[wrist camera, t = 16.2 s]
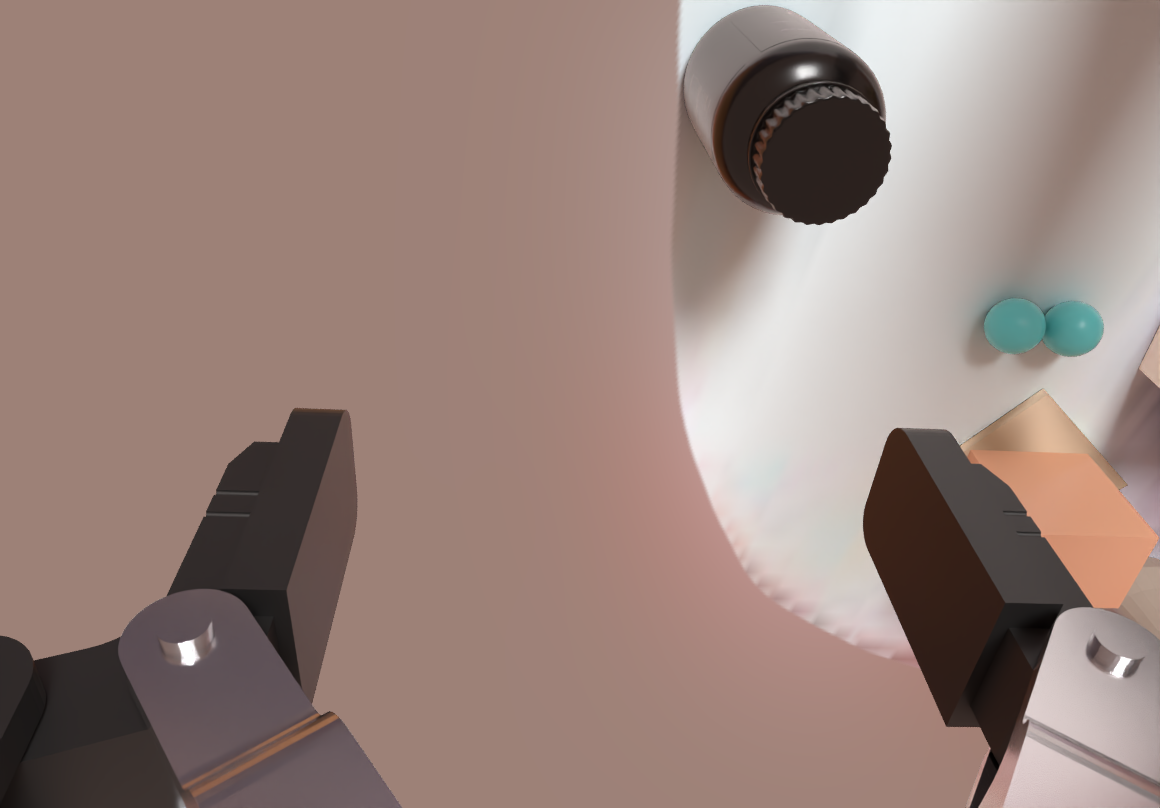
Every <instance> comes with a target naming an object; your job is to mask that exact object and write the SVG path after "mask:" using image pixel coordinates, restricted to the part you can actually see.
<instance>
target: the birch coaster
mask: <svg viewBox="0 0 1160 808" xmlns="http://www.w3.org/2000/svg"><path fill="white" fill-rule="evenodd" d="M960 447H961V449H962V450H963V452H964V453H965V455H966V456H967V457H968V455H969V452H970V450H993V451H1022V452H1050V453H1079V454H1088V455H1089V456H1090V457H1091V458H1092V459H1093V460H1094V462H1095V463H1096V464H1097V465H1098V466H1099V467H1100V469H1101V470H1102V471H1103V472H1104V473H1105V475H1106V476H1107V477H1108V478H1109V479H1110V480H1111V482H1112V483H1113V484H1114V485H1115V486H1116V487H1117V489H1118V490H1120V489H1122V488H1124V487H1125V486H1127V484H1126V482H1125V481H1124V480H1123V479H1122V478H1121V477H1120V476H1119V474H1118V473H1117V472H1116V471H1115V470H1114V469H1113V468H1112V466H1111V465H1110V464H1109V463H1108V462H1107V461H1106V460H1105V458H1104V457H1103V456H1102V455H1101V454H1100V453H1099V452H1098V450H1097V449H1096V448H1095V447H1094V446H1093V445H1092V444H1091V442H1090V441H1089V440H1088V439H1087V438H1086V437H1085V436H1084V434H1083V433H1082V432H1081V431H1080V430H1079V429H1078V428H1077V426H1076V425H1075V424H1074V423H1073V422H1072V421H1071V420H1070V418H1069V417H1068V416H1067V415H1066V414H1065V413H1064V412H1063V410H1062V409H1061V408H1060V407H1059V406H1058V405H1057V404H1056V402H1055V401H1054V400H1053V399H1052V398H1051V397H1050V396H1049V394H1048V393H1047V392H1046V391H1045V390H1044V389H1042V390H1040V391H1039V392H1037V393H1036V394H1034V395H1033V396H1032V397H1030V398H1029V399H1027V400H1026V401H1024V402H1023V403H1021V404H1020V405H1018V406H1017V407H1016V408H1014V409H1013V410H1011V411H1010V412H1008V413H1007V414H1005V415H1004V416H1003V417H1001V418H1000V419H998V420H997V421H995V422H994V423H992V424H991V425H989V426H988V427H987V428H985V429H984V430H982V431H981V432H979V433H978V434H976V435H975V436H973V437H972V438H971V439H969V440H968V441H966V442H965V443H963V444H962V445H960Z"/></svg>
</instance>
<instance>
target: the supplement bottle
mask: <svg viewBox="0 0 1160 808" xmlns="http://www.w3.org/2000/svg"><path fill="white" fill-rule="evenodd" d="M684 101H685V106H686V110H687V113H688V116H689V119H690V121H691V123H692V125H693V127H694V130H695V131H696V133H697V135H698V137H699V139H700V140H701V142H702V144H703V146H704V148H705V149H706V151H707V153H708V155H709V157H710V158H711V160H712V162H713V164H714V166H715V167H716V169H717V171H718V173H719V175H720V176H721V178H722V180H723V181H724V182H725V184H726V185H727V186H728V188H729V189H730V190H731V191H732V192H733V193H734V194H735V195H736V196H737V197H738V198H739V199H740V200H741V201H743V202H744V203H746V204H747V205H749V206H751V207H753V208H755V209H757V210H760V211H763V212H766V213H770V214H775V215H783V217H785V218H791V219H792V220H793V221H794V222H803V223H804V224H806V225H810V224H816V225H821V224H824V223H833V222H835V221H836V220H838V219H844V218H846V217H847V216H848V215H849V214H853V213H856V212H857V211H858V209H859V208H860V207H862V206H864V205H866V204H867V203H868V201H869V199H870V198H871V197H873V196H874V195H875V194H876V192H877V189H878V188H879V187H880V186H881V185H882V183H883V178H884V176H885V175H886V173H887V172H888V164H889V162H890V160H891V155H890V150H891V147H892V145H891V143H890V141H889V137H890V132H889V131H888V130H887V129H886V124H885V123H886V109H885V101H884V97H883V93H882V90H881V87H880V85H879V82H878V80H877V78H876V77H875V75H874V73H873V72H872V70H871V69H870V68H869V67H868V65H867V64H866V63H865V62H864V61H863V60H862V59H861V58H860V57H859V56H858V55H856V54H855V53H854V52H853V51H851V50H850V49H848V48H847V47H846V46H844V45H843V44H841V43H840V42H839V41H837V40H836V39H834V38H833V37H831V36H830V35H829V34H827V33H826V32H824V31H823V30H821V29H820V28H819V27H817V26H816V25H814V24H813V23H811V22H810V21H809V20H807V19H805V18H804V17H802V16H800V15H799V14H797V13H795V12H793V11H791V10H788V9H785V8H782V7H777V6H770V5H759V6H751V7H747V8H743V9H740V10H738V11H735V12H733V13H731V14H729V15H727V16H726V17H724V18H722V19H721V20H720V21H718V22H717V23H716V24H714V25H713V26H712V27H711V28H710V29H709V30H708V31H707V32H706V33H705V34H704V36H703V37H702V38H701V39H700V41H699V42H698V44H697V45H696V47H695V49H694V51H693V52H692V55H691V57H690V59H689V62H688V65H687V68H686V72H685V78H684Z"/></svg>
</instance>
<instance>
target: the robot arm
mask: <svg viewBox="0 0 1160 808" xmlns="http://www.w3.org/2000/svg"><path fill="white" fill-rule="evenodd" d="M356 519H357V487H356V475H355V464H354V452H353V441H352V429H351V420H350V415H349V412H348V411H347V410H335V409H334V410H333V409H307V408H305V409H304V408H295V409H293V411H292V412H291V414H290V417H289V420H288V422H287V424H286V427H285V429H284V432H283V434H282V437H281V439H280V442H279V443H278V442H253V443H252V444H251V445H250V446H249V447H247V448H246V449H245V450H244V451H243V452H242V453H241V454H239V455H238V456H237V457H236V458H235V459H234V460H232V461H231V462H230V463H229V464H228V466H227V468H226V470H225V473H224V475H223V477H222V479H221V481H220V483H219V485H218V488H217V489H216V495H214V496H213V498H212V500H211V502H210V504H209V507H208V509H207V511H206V517H203V520H202V522H201V524H200V526H199V528H198V530H197V532H196V534H195V537H194V539H193V541H192V543H191V545H190V548H189V549H188V551H187V554H186V556H185V558H184V560H183V562H182V564H181V566H180V568H179V571H178V573H177V575H176V577H175V579H174V581H173V584H172V586H171V588H170V590H169V592H168V594H167V596H166V597H163V598H162V599H159V600H157V601H155V602H154V603H152V604H150V605H149V606H147V607H146V608H144V609H143V610H142V611H140V612H139V613H138V614H137V615H136V616H135V617H134V618H133V619H132V620H131V621H130V622H129V624H128V625H127V627H126V628H125V629H124V631H123V633H122V636H121V637H119V638H117V639H115V640H112V641H110V642H107V643H104V644H102V645H99V646H95V647H91V648H87V649H83V650H79V651H74V652H70V653H65V654H61V655H57V656H53V657H48V658H43V659H39V660H35V661H33V658H32V656H31V654H30V651H29V650H28V649H27V648H26V647H25V646H24V645H23V644H22V643H20V642H19V641H17V640H15V639H12V638H9V637H5V636H0V808H402V807H401V805H400V804H399V802H398V801H397V800H396V798H395V796H394V795H393V793H392V792H391V790H390V789H389V788H388V786H387V785H386V783H385V782H384V780H383V779H382V777H381V776H380V774H379V773H378V771H377V770H376V769H375V767H374V766H373V764H372V763H371V761H370V760H369V758H368V757H367V755H366V754H365V753H364V751H363V750H362V748H361V747H360V745H359V744H358V742H357V741H356V740H355V738H354V736H353V735H352V734H351V732H350V731H349V729H348V728H347V726H346V725H345V724H344V723H343V721H342V720H341V719H340V718H339V717H338V716H337V715H336V714H335V713H333V712H330V711H329V712H327V713H325V714H323V715H320V714H319V713H318V712H317V711H316V710H315V708H314V707H313V706H312V702H313V698H314V694H315V690H316V686H317V682H318V678H319V674H320V669H321V665H322V661H323V658H324V654H325V650H326V646H327V642H328V638H329V634H330V630H331V626H332V622H333V618H334V614H335V610H336V606H337V602H338V598H339V594H340V590H341V586H342V582H343V578H344V574H345V570H346V566H347V562H348V558H349V554H350V550H351V546H352V542H353V538H354V534H355V527H356ZM863 531H864V538H865V543H866V546H867V549H868V551H869V553H870V556H871V558H872V560H873V562H874V565H875V567H876V569H877V571H878V574H879V576H880V578H881V580H882V583H883V585H884V587H885V589H886V592H887V594H888V596H889V598H890V601H891V603H892V605H893V607H894V610H895V612H896V614H897V616H898V619H899V621H900V623H901V625H902V628H903V630H904V632H905V634H906V637H907V639H908V641H909V643H910V646H911V648H912V650H913V652H914V655H915V657H916V659H917V662H918V664H919V666H920V668H921V671H922V673H923V675H924V677H925V680H926V682H927V684H928V686H929V688H930V691H931V693H932V695H933V697H934V700H935V702H936V704H937V706H938V709H939V711H940V713H941V716H942V718H943V720H944V722H945V725H946V726H947V727H980V728H981V730H982V732H983V734H984V736H985V738H986V740H987V742H988V744H989V748H988V750H987V752H986V754H985V756H984V758H983V760H982V763H981V766H980V768H979V771H978V774H977V777H976V780H975V782H974V785H973V788H972V791H971V793H970V796H969V799H968V802H967V804H966V807H965V808H1160V640H1159V639H1158V638H1157V637H1156V636H1155V635H1154V634H1152V633H1151V632H1150V631H1148V630H1147V629H1146V628H1144V627H1143V626H1141V625H1139V624H1138V623H1136V622H1134V621H1132V620H1130V619H1128V618H1126V617H1124V616H1122V615H1119V614H1116V613H1114V612H1111V611H1107V610H1103V609H1098V608H1094V607H1093V606H1092V604H1091V603H1090V602H1089V600H1088V599H1087V597H1086V596H1085V594H1084V593H1083V591H1082V590H1081V589H1080V587H1079V586H1078V584H1077V583H1076V581H1075V580H1074V578H1073V577H1072V576H1071V574H1070V573H1069V571H1068V570H1067V568H1066V567H1065V565H1064V564H1063V563H1062V561H1061V560H1060V558H1059V557H1058V555H1057V554H1056V552H1055V551H1054V550H1053V548H1052V547H1051V545H1050V544H1049V542H1048V541H1047V540H1046V538H1045V537H1041V531H1040V529H1039V528H1038V527H1037V525H1036V524H1035V522H1034V521H1033V519H1032V518H1031V516H1027V511H1026V509H1025V508H1024V506H1023V505H1022V503H1021V502H1020V501H1019V499H1018V498H1017V496H1016V495H1015V493H1014V492H1013V490H1012V489H1011V488H1010V486H1009V485H1007V484H1006V483H1005V482H1003V481H1002V480H1001V479H1000V478H998V477H997V476H996V475H995V474H993V473H992V472H991V471H989V470H988V469H987V468H986V467H984V466H983V465H982V464H971V462H970V461H969V459H968V458H967V456H966V455H965V453H964V452H963V450H962V449H961V447H960V446H959V444H958V443H957V441H956V440H955V438H954V437H953V435H952V434H951V433H950V432H949V431H947V430H938V429H910V428H896V429H894V430H893V431H892V432H891V433H890V434H889V436H888V438H887V441H886V443H885V446H884V450H883V453H882V456H881V459H880V462H879V465H878V468H877V471H876V474H875V477H874V480H873V483H872V487H871V490H870V493H869V496H868V499H867V502H866V505H865V509H864V516H863Z"/></svg>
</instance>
